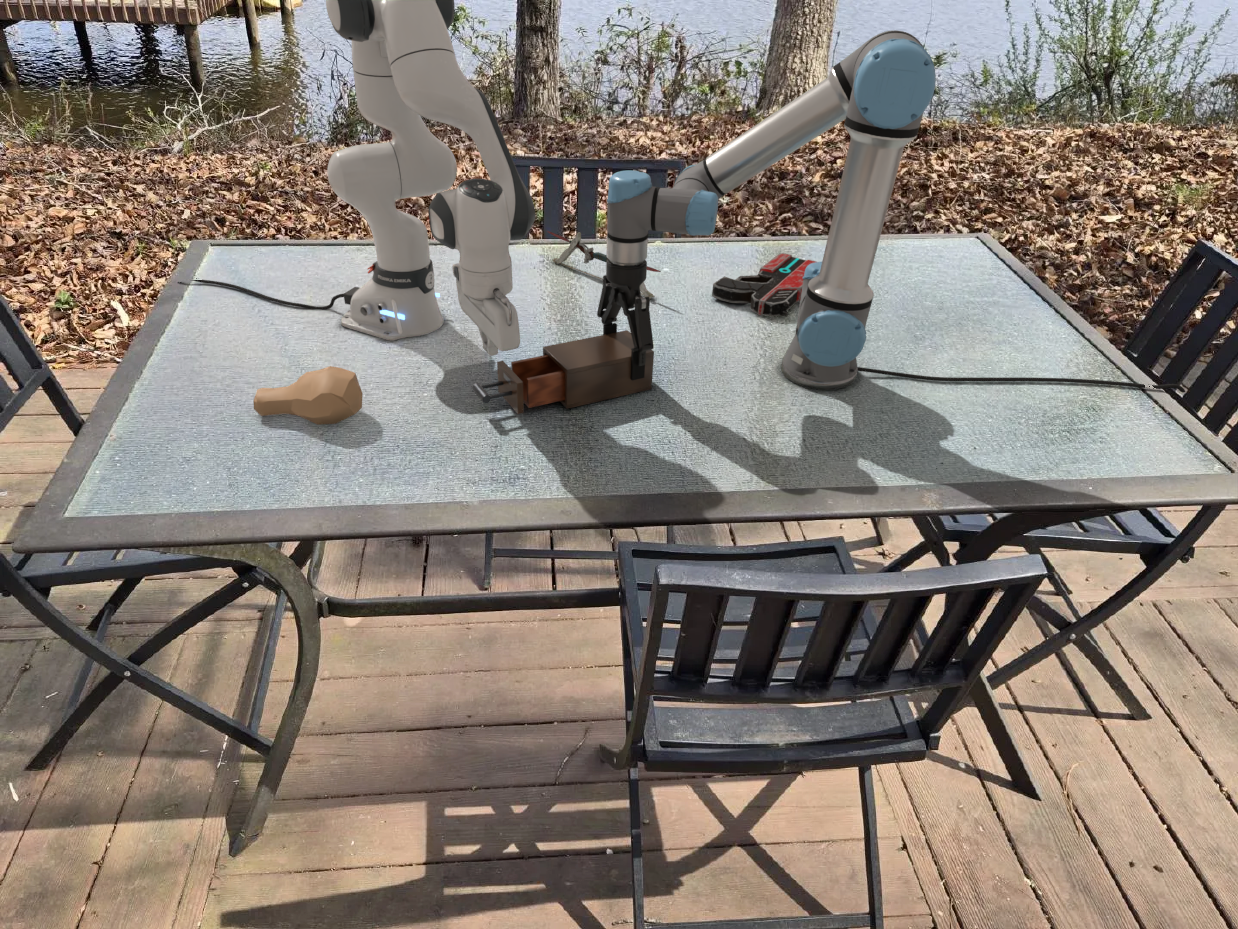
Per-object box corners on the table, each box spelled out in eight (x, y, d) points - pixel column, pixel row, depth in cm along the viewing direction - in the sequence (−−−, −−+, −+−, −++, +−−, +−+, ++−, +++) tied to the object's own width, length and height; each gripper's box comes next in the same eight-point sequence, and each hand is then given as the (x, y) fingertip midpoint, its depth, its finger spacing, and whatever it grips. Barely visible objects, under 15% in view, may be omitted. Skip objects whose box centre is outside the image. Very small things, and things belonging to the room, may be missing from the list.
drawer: (487, 421, 159) (485, 390, 155) (468, 398, 166) (466, 367, 162) (601, 395, 169) (602, 365, 165) (579, 374, 175) (580, 344, 172)
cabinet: (566, 409, 165) (567, 370, 161) (543, 384, 173) (542, 346, 168) (651, 389, 173) (654, 351, 169) (625, 366, 181) (627, 329, 176)
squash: (362, 431, 158) (346, 392, 151) (255, 439, 159) (235, 401, 153) (374, 393, 165) (360, 354, 159) (272, 401, 167) (254, 364, 161)
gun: (708, 284, 207) (784, 305, 199) (760, 245, 229) (831, 262, 221) (706, 302, 209) (781, 323, 201) (758, 261, 231) (828, 278, 223)
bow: (662, 300, 209) (664, 260, 204) (657, 302, 208) (659, 262, 203) (550, 258, 231) (549, 220, 225) (545, 259, 230) (544, 222, 224)
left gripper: (528, 298, 143) (530, 373, 151) (481, 256, 158) (486, 326, 166) (492, 305, 141) (496, 381, 149) (448, 262, 156) (454, 333, 163)
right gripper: (677, 277, 155) (669, 387, 167) (614, 236, 171) (611, 339, 184) (640, 284, 151) (635, 395, 164) (580, 242, 168) (579, 346, 180)
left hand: (490, 352), depth 157 cm, fingers closed
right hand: (623, 366), depth 174 cm, fingers closed on cabinet, 11 cm apart
